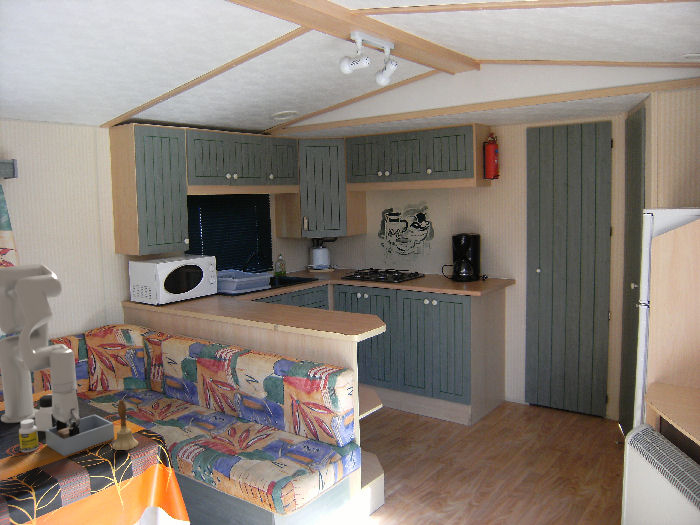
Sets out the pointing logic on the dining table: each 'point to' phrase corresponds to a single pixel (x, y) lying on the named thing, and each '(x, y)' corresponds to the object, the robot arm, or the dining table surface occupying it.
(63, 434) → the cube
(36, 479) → the dining table surface
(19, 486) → the dining table surface
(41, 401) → the medicine bottle
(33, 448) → the supplement bottle
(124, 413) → the hand bell
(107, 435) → the tote
